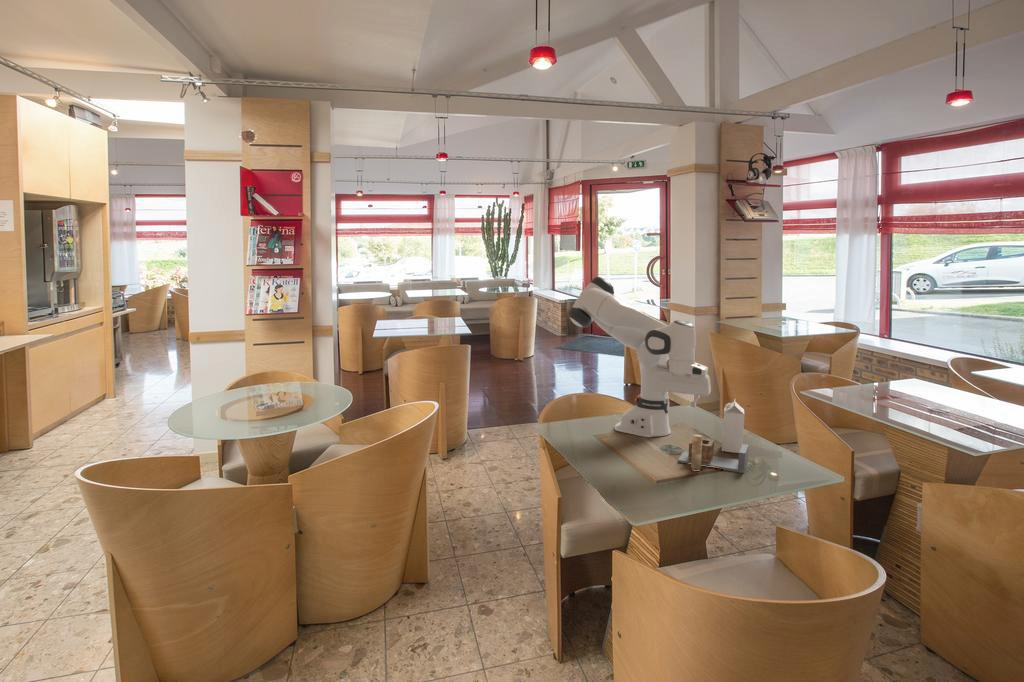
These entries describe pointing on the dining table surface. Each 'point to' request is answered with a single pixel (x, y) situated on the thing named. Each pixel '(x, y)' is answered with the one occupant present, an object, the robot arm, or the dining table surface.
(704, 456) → the block
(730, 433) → the milk carton
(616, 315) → the robot arm
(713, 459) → the grey l-shaped piece
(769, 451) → the dining table surface
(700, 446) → the dowel
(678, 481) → the dining table surface
